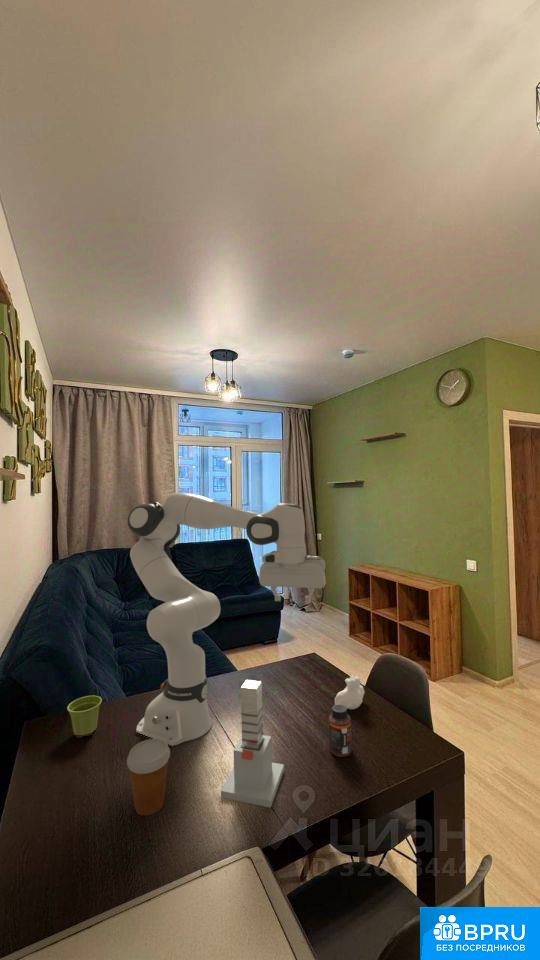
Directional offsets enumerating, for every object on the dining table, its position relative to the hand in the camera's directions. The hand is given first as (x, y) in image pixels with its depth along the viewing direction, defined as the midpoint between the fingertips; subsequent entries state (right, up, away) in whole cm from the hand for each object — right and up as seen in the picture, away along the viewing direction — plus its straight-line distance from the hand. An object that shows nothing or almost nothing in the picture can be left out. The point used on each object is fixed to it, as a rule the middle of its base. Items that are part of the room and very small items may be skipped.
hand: (292, 601), depth 118 cm
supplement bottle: (+12, -37, -13) cm, 41 cm away
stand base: (-11, -36, -24) cm, 45 cm away
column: (-11, -29, -24) cm, 39 cm away
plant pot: (-63, -39, -2) cm, 74 cm away
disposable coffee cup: (-34, -37, -30) cm, 59 cm away
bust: (+20, -37, +9) cm, 43 cm away
